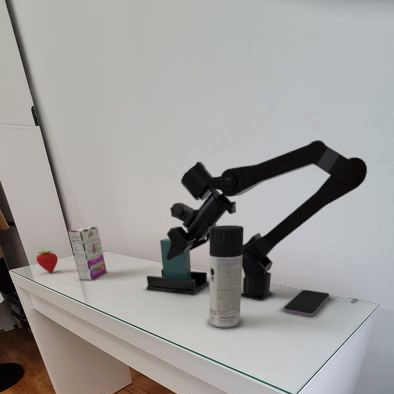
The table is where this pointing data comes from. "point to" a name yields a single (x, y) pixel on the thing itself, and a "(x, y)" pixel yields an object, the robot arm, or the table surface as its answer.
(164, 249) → the book
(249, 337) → the table surface
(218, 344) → the table surface
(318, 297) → the smartphone
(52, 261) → the strawberry
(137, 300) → the table surface
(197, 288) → the black rack
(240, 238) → the spray can
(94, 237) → the candy bar box
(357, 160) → the robot arm
